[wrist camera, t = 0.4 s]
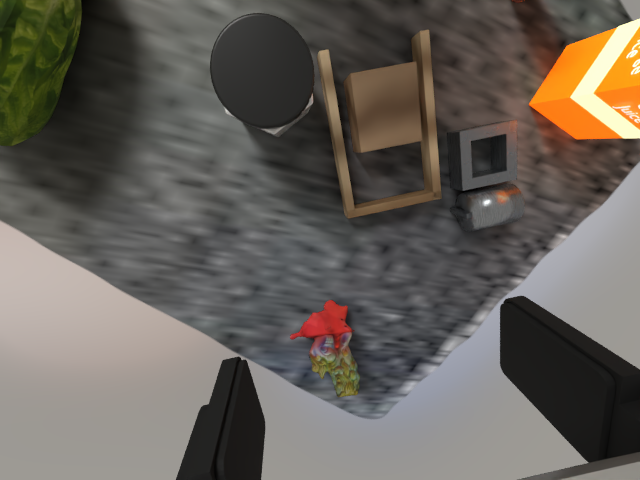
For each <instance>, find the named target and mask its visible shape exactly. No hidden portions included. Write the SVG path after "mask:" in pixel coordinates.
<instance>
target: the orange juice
mask: <svg viewBox="0 0 640 480" xmlns="http://www.w3.org/2000/svg"><path fill="white" fill-rule="evenodd" d="M529 105H530V106H531V107H533V108H534V109H535V110H537V111H538V112H540V113H541V114H542V115H544V116H545V117H546V118H548V119H549V120H551V121H552V122H553V123H555V124H556V125H557V126H559V127H560V128H562V129H563V130H564V131H566V132H567V133H568V134H570V135H571V136H573V137H574V138H575V139H606V138H624V139H625V138H640V19H638V20H635V21H632V22H629V23H627V24H624V25H621V26H618V27H617V28H615V29H612V30H609V31H606V32H604V33H601V34H598V35H595V36H593V37H590V38H587V39H584V40H582V41H579V42H576V43H573V44H570V45H568V46H567V47H566V48H565V50H564V51H563V53H562V54H561V56H560V57H559V59H558V60H557V62H556V64H555V65H554V67H553V68H552V70H551V71H550V73H549V74H548V76H547V77H546V79H545V80H544V82H543V83H542V85H541V87H540V88H539V90H538V91H537V93H536V94H535V96H534V97H533V99H532V100H531V102H530V103H529Z"/></svg>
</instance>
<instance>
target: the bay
mask: <svg viewBox="0 0 640 480" xmlns="http://www.w3.org/2000/svg"><path fill="white" fill-rule="evenodd" d="M411 44H412V55H413V62H415V61H416V67H417V80H418V93H419V106H420V119H421V132H422V141H420V143H421V154H422V165H423V176H424V187H425V190H420V191H416V192H411V193H406V194H402V195H397V196H392V197H388V198H383V199H379V200H374V201H369V202H365V203H360V204H355V205H354V202H353V195H352V189H351V183H350V177H349V171H348V165H347V159H346V153H345V147H344V141H343V135H342V129H341V123H340V117H339V110H338V104H337V98H336V92H335V86H334V80H333V74H332V68H331V62H330V56H329V50H328V49H327V50H322V51H319V53H318V56H317V60H318V66H319V71H320V77H321V83H322V88H323V94H324V100H325V106H326V111H327V117H328V123H329V128H330V134H331V140H332V145H333V151H334V157H335V162H336V168H337V174H338V179H339V185H340V191H341V196H342V202H343V208H344V213H345V215H346V217H347V218H348V219H349V218H354V217H358V216H363V215H367V214H372V213H377V212H381V211H386V210H391V209H395V208H400V207H404V206H409V205H414V204H418V203H423V202H427V201H432V200H437V199H441V198H442V197H441V184H440V171H439V157H438V144H437V130H436V117H435V103H434V90H433V76H432V63H431V49H430V36H429V30H424V31H420V32H419V33H417V34H416V35H415V36H414V37H413V38H412V39H411Z"/></svg>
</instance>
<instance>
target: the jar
mask: <svg viewBox="0 0 640 480" xmlns="http://www.w3.org/2000/svg"><path fill="white" fill-rule="evenodd" d="M210 72H211V79H212V83H213V86H214V89H215V92H216V94H217V96H218V98H219V100H220V101H221V103H222V104H223V106H224V107H225V112H226V114H228V115H230V116H231V117H233V118H235V119H237V120H239V121H241V122H243V123H245V124H248V125H250V126H252V127H255V128H257V129H259V130H261V131H264V132H266V133H268V134H271V135H273V136H275V137H279V136H280V135H282V134H283V133H284V132H285V131H287V130H288V129H289V128H290V127H291V126H293V125H294V124H295V123H296V122H298V121H299V120H300V119H301V118H302V117H304V116H305V115H306V114H307V113H308V111H309V109H310V107H311V106H312V104H313V94H312V92H313V88H314V87H313V86H314V65H313V60H312V56H311V53H310V51H309V48H308V46H307V44H306V43H305V41H304V39H303V38H302V36H301V35H300V34H299V33H298V31H297V30H296V29H295V28H294V27H292V26H291V25H290V24H289V23H287V22H286V21H284V20H282V19H280V18H278V17H276V16H273V15H270V14H264V13H253V14H247V15H244V16H241V17H239V18H237V19H235V20H233V21H232V22H231V23H229V24H228V25H227V26H226V27H225V28H224V29H223V30H222V32H221V33H220V34H219V36H218V38H217V40H216V42H215V44H214V46H213V50H212V54H211V61H210Z"/></svg>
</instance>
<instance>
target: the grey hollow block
mask: <svg viewBox="0 0 640 480" xmlns="http://www.w3.org/2000/svg"><path fill="white" fill-rule="evenodd" d="M488 137H491V169H490V170H485V171H480V172H476V173H472V157H471V141H474V140H478V139H483V138H488ZM447 141H448V157H449V172H450V188H453V189H457V190H461V191H465V190H469V189H474V188H478V187H483V186H488V185H492V184H497V183H501V182H506V181H511V180H515V179H517V120H511V121H502V122H497V123H492V124H487V125H482V126H478V127H473V128H468V129H463V130H459V131H454V132H449V133H447ZM524 209H525V203H524V198H523V195H522V193H521V191H520V190H519V189H518V188H517V187H516V186H515V185H513V184H510V183H508V184H503V185H498V186H493V187H489V188H484V189H480V190H475V191H470V192H466V193H461V194H460V195H459V196H458V197H457V199H456V204H455V207H451V208H450V210H451V212H452V213H454V214H456V216H457V219H458V221H459V223H460V225H461V227H462V228H463V229H464V230H466V231H468V232H471V231H475V230H480V229H484V228H489V227H493V226H498V225H502V224H507V223H511V222H516V221H518V220H520V219H521V217H522V216H523V213H524Z"/></svg>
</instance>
